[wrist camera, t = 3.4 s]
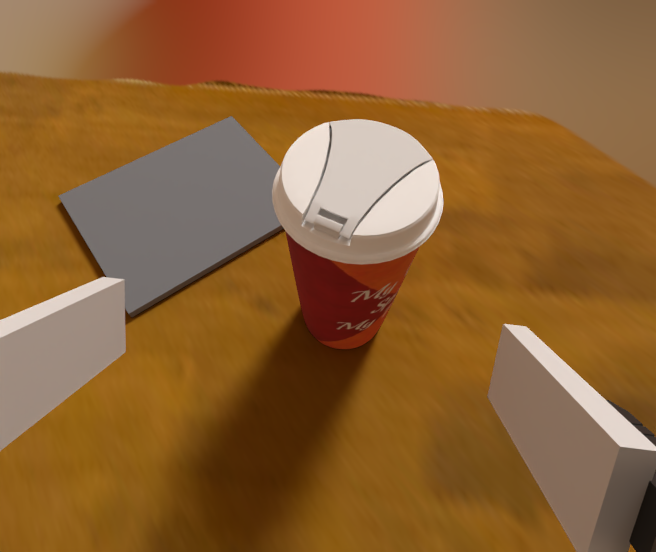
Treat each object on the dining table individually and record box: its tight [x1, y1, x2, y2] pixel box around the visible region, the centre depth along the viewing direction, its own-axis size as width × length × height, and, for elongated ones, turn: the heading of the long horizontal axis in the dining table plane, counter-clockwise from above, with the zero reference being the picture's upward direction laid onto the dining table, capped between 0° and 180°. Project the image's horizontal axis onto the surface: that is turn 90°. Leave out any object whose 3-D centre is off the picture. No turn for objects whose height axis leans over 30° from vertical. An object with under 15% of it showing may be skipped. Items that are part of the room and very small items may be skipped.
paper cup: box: [272, 119, 443, 349], centre depth 24 cm, size 8×8×14 cm
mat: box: [59, 116, 284, 317], centre depth 35 cm, size 16×13×1 cm
